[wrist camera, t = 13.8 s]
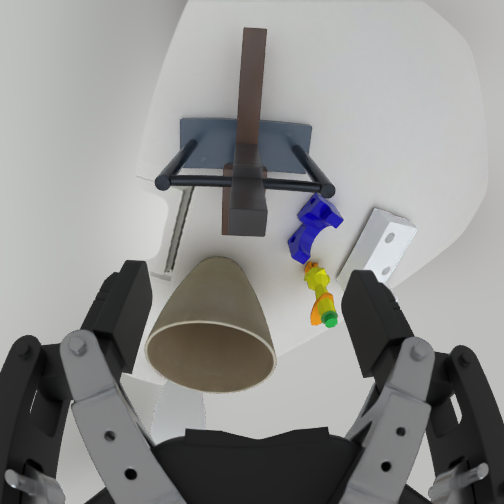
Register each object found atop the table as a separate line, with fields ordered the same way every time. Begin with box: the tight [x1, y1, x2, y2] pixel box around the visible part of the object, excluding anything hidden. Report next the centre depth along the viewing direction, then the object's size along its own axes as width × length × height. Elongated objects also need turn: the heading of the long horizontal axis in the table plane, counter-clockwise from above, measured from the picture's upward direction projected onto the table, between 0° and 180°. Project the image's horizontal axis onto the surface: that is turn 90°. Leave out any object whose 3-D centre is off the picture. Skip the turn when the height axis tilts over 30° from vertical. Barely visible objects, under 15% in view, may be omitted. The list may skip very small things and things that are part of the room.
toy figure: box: [304, 262, 338, 328], centre depth 37 cm, size 7×4×12 cm, turn 169°
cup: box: [150, 380, 205, 445], centre depth 46 cm, size 10×10×22 cm
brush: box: [222, 27, 268, 237], centre depth 19 cm, size 4×20×15 cm, turn 176°
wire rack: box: [155, 118, 335, 198], centre depth 25 cm, size 6×15×15 cm, turn 86°
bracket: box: [336, 208, 418, 302], centre depth 37 cm, size 13×7×8 cm, turn 164°
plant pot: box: [145, 257, 277, 394], centre depth 36 cm, size 15×15×16 cm
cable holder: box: [288, 193, 344, 264], centre depth 36 cm, size 8×4×4 cm, turn 146°
